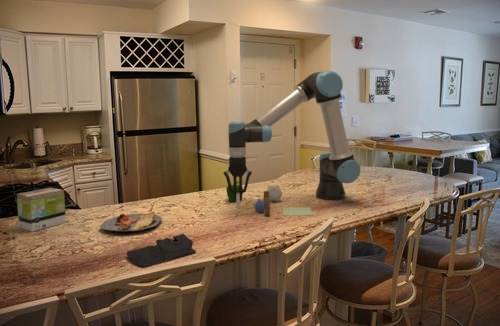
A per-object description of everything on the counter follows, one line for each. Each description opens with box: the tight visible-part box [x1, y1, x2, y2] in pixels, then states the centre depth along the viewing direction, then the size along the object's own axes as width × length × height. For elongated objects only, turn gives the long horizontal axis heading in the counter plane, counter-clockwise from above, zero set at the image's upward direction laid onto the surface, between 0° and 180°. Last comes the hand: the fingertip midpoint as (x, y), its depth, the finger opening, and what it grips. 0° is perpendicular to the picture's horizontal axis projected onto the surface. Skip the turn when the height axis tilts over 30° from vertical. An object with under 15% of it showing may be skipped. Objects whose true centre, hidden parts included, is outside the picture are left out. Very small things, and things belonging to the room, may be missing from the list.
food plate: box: [99, 211, 163, 233], centre depth 167 cm, size 25×23×4 cm
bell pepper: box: [225, 181, 244, 202], centre depth 205 cm, size 8×8×10 cm
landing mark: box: [281, 206, 314, 217], centre depth 184 cm, size 13×13×1 cm
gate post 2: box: [263, 197, 271, 218], centre depth 178 cm, size 3×3×8 cm
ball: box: [254, 199, 264, 213], centre depth 184 cm, size 6×6×6 cm
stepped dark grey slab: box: [126, 233, 197, 269], centre depth 136 cm, size 15×22×5 cm
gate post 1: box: [263, 190, 269, 199], centre depth 190 cm, size 3×3×8 cm
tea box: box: [16, 187, 67, 233], centre depth 168 cm, size 15×10×15 cm, turn 148°
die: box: [266, 184, 283, 203], centre depth 204 cm, size 8×9×10 cm
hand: (238, 207), depth 184 cm, fingers closed
